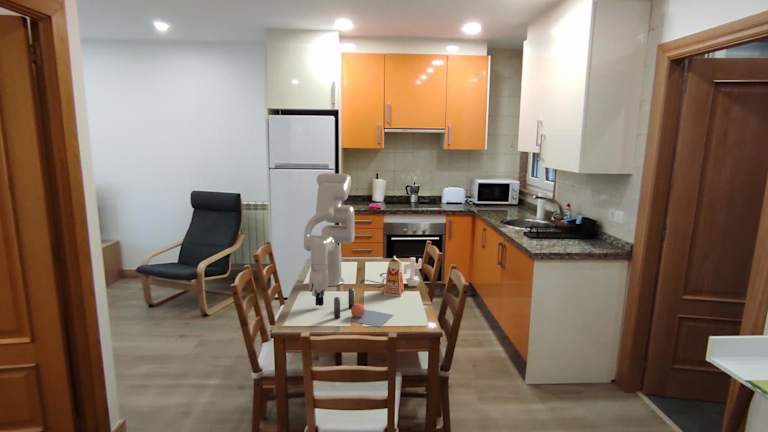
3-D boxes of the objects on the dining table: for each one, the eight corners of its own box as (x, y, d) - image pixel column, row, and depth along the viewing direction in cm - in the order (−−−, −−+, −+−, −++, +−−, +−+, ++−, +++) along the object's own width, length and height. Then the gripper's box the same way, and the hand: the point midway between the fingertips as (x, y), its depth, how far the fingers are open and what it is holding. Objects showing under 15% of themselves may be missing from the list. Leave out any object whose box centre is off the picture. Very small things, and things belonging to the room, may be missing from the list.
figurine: (402, 282, 243) (403, 256, 240) (419, 282, 244) (420, 255, 241) (404, 287, 236) (405, 259, 233) (422, 286, 237) (423, 259, 234)
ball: (347, 307, 193) (358, 306, 190) (354, 301, 199) (365, 301, 196) (350, 320, 194) (361, 319, 191) (357, 314, 199) (368, 314, 197)
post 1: (333, 318, 194) (333, 298, 192) (336, 316, 196) (336, 296, 194) (338, 319, 193) (338, 299, 191) (341, 317, 195) (341, 297, 193)
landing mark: (350, 321, 191) (350, 320, 191) (365, 309, 204) (365, 309, 204) (380, 327, 186) (380, 326, 185) (393, 315, 198) (393, 314, 198)
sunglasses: (380, 289, 234) (380, 279, 233) (359, 282, 244) (359, 273, 243) (400, 281, 247) (400, 272, 246) (379, 275, 256) (379, 267, 255)
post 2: (347, 308, 205) (347, 289, 204) (350, 306, 208) (350, 287, 206) (352, 309, 204) (352, 290, 203) (355, 307, 207) (355, 288, 205)
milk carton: (401, 296, 222) (402, 257, 218) (383, 295, 223) (383, 256, 220) (404, 290, 230) (405, 253, 227) (386, 289, 232) (387, 251, 229)
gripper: (320, 261, 210) (321, 298, 213) (302, 269, 197) (303, 309, 200) (334, 263, 207) (334, 300, 210) (317, 271, 194) (317, 311, 197)
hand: (319, 304), depth 205 cm, fingers closed
